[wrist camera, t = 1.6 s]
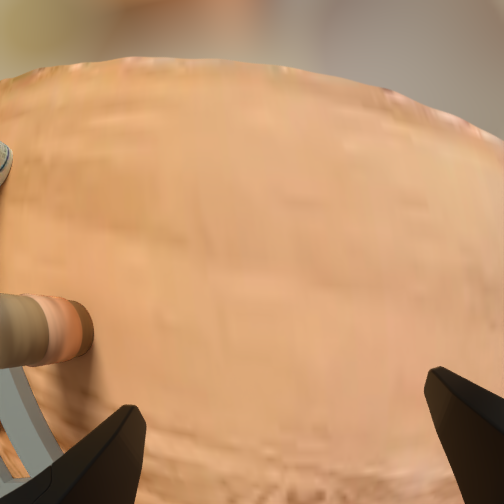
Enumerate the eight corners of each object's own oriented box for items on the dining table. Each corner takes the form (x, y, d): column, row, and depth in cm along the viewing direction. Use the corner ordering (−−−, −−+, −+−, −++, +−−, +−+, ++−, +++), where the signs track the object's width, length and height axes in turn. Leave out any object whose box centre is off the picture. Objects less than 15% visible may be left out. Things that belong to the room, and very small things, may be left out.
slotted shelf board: (106, 516, 19) (98, 525, 17) (18, 514, 19) (10, 518, 17) (15, 347, 23) (2, 348, 21) (-46, 389, 22) (-55, 390, 21)
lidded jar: (69, 369, 22) (-11, 386, 12) (43, 319, 23) (-38, 316, 13) (106, 338, 22) (22, 348, 13) (76, 286, 23) (-7, 271, 14)
